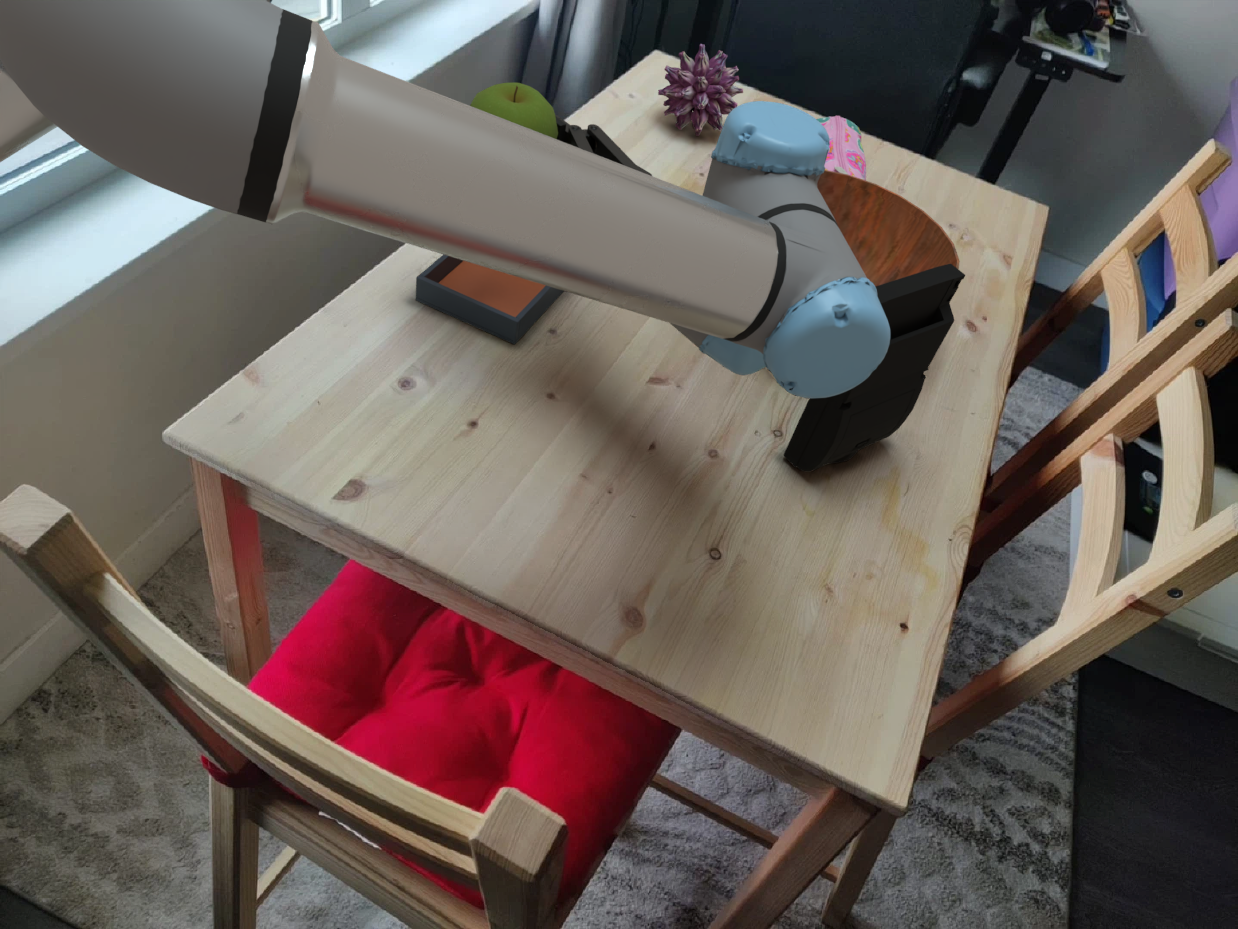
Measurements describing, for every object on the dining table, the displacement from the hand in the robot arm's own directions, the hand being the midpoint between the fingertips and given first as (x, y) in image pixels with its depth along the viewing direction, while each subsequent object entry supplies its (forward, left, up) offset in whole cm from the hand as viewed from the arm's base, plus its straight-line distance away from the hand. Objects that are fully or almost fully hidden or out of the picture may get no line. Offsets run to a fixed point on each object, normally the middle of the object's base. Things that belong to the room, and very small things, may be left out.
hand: (480, 115), depth 86 cm
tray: (+6, -1, -18) cm, 19 cm away
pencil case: (+52, +5, -18) cm, 55 cm away
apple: (+1, -4, -7) cm, 8 cm away
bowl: (+37, -15, -18) cm, 43 cm away
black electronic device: (+27, -35, -18) cm, 47 cm away
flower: (+43, +27, -18) cm, 54 cm away
